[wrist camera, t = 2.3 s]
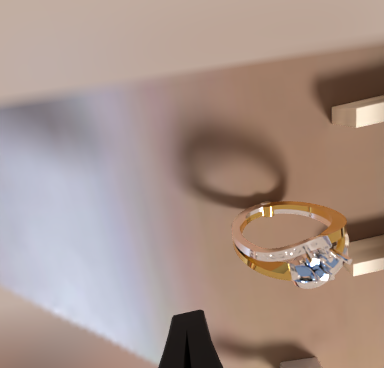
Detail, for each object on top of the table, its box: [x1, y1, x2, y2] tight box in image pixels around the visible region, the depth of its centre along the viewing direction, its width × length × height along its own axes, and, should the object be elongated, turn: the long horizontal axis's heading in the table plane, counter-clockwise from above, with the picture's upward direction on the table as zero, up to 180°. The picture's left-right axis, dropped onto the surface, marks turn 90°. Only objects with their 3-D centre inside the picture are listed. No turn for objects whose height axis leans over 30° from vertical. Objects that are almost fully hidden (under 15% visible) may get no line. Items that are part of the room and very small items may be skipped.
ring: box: [232, 201, 353, 289], centre depth 16 cm, size 7×3×8 cm, turn 98°
